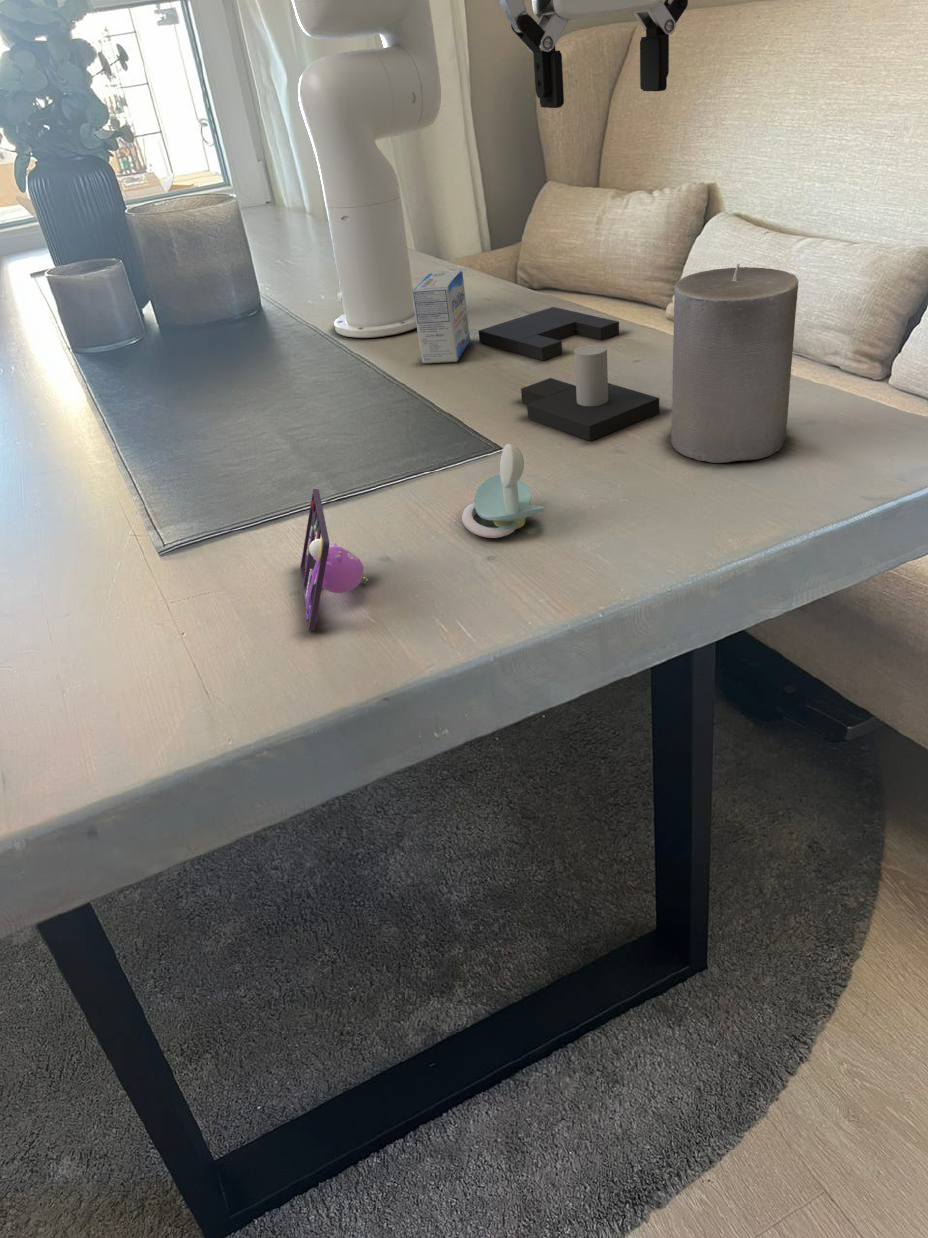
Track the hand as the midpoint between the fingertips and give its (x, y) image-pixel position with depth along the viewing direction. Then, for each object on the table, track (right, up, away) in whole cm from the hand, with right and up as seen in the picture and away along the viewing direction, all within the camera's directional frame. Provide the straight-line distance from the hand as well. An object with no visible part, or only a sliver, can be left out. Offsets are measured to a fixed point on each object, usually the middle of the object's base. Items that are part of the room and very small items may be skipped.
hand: (603, 98), depth 79 cm
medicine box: (-14, -12, +34) cm, 39 cm away
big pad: (-1, -10, +35) cm, 36 cm away
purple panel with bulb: (-21, -42, -12) cm, 48 cm away
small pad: (0, -23, +13) cm, 27 cm away
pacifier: (-9, -36, -5) cm, 38 cm away
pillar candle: (+11, -28, +3) cm, 31 cm away
